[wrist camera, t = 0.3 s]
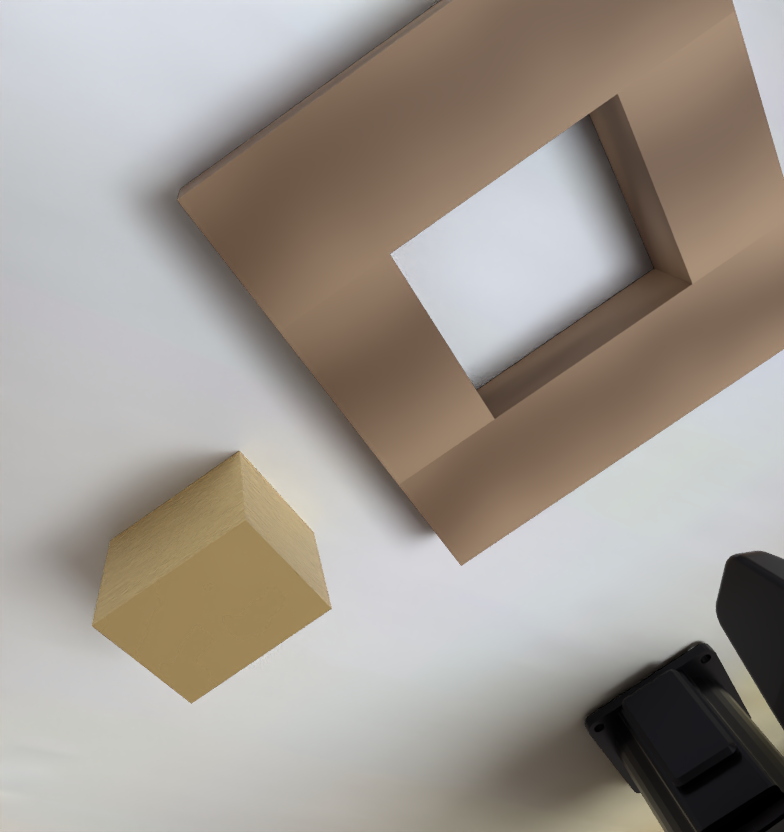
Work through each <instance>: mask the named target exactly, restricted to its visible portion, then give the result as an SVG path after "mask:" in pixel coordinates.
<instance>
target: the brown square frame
mask: <svg viewBox="0 0 784 832" xmlns="http://www.w3.org/2000/svg"><path fill="white" fill-rule="evenodd" d="M588 114H589V115H590V117H591V119H592V122H593V124H594V127H595V129H596V131H597V134H598V136H599V138H600V141H601V143H602V146H603V148H604V150H605V153H606V155H607V157H608V160H609V162H610V165H611V167H612V169H613V172H614V174H615V176H616V179H617V181H618V184H619V186H620V188H621V191H622V193H623V195H624V198H625V200H626V203H627V205H628V207H629V210H630V212H631V214H632V217H633V219H634V222H635V224H636V226H637V229H638V231H639V233H640V236H641V238H642V241H643V243H644V245H645V248H646V250H647V253H648V255H649V257H650V260H651V262H652V264H653V267H654V269H653V270H651V271H650V272H648V273H647V274H645V275H644V276H642V277H641V278H640V279H638V280H637V281H635V282H634V283H632V284H631V285H629V286H628V287H626V288H625V289H624V290H622V291H621V292H619V293H618V294H616V295H615V296H613V297H612V298H610V299H609V300H607V301H606V302H605V303H603V304H602V305H600V306H599V307H597V308H596V309H594V310H593V311H591V312H590V313H589V314H587V315H586V316H584V317H583V318H581V319H580V320H578V321H577V322H575V323H574V324H573V325H571V326H570V327H568V328H567V329H565V330H564V331H562V332H561V333H559V334H558V335H557V336H555V337H554V338H552V339H551V340H549V341H548V342H546V343H545V344H543V345H542V346H541V347H539V348H538V349H536V350H535V351H533V352H532V353H530V354H529V355H527V356H526V357H524V358H523V359H522V360H520V361H519V362H517V363H516V364H514V365H513V366H511V367H510V368H508V369H507V370H506V371H504V372H503V373H501V374H500V375H498V376H497V377H495V378H494V379H492V380H491V381H490V382H488V383H487V384H485V385H484V386H482V387H481V388H479V389H478V390H476V389H475V387H474V386H473V384H472V383H471V381H470V379H469V378H468V376H467V375H466V373H465V372H464V370H463V368H462V367H461V365H460V364H459V362H458V361H457V359H456V357H455V356H454V354H453V353H452V351H451V350H450V348H449V346H448V345H447V343H446V342H445V340H444V339H443V337H442V335H441V334H440V332H439V331H438V329H437V327H436V326H435V324H434V323H433V321H432V320H431V318H430V316H429V315H428V313H427V312H426V310H425V309H424V307H423V305H422V304H421V302H420V301H419V299H418V298H417V296H416V294H415V293H414V291H413V290H412V288H411V287H410V285H409V283H408V282H407V280H406V279H405V277H404V276H403V274H402V272H401V271H400V269H399V268H398V266H397V265H396V263H395V261H394V260H393V258H392V257H391V255H390V254H391V253H392V252H393V251H395V250H396V249H398V248H399V247H401V246H402V245H403V244H405V243H406V242H408V241H409V240H411V239H412V238H413V237H415V236H416V235H418V234H419V233H420V232H422V231H423V230H425V229H426V228H428V227H429V226H430V225H432V224H433V223H435V222H436V221H437V220H439V219H440V218H442V217H443V216H445V215H446V214H447V213H449V212H450V211H452V210H453V209H455V208H456V207H457V206H459V205H460V204H462V203H463V202H464V201H466V200H467V199H469V198H470V197H472V196H473V195H474V194H476V193H477V192H479V191H480V190H481V189H483V188H484V187H486V186H487V185H489V184H490V183H491V182H493V181H494V180H496V179H497V178H499V177H500V176H501V175H503V174H504V173H506V172H507V171H508V170H510V169H511V168H513V167H514V166H516V165H517V164H518V163H520V162H521V161H523V160H524V159H525V158H527V157H528V156H530V155H531V154H533V153H534V152H535V151H537V150H538V149H540V148H541V147H543V146H544V145H545V144H547V143H548V142H550V141H551V140H552V139H554V138H555V137H557V136H558V135H560V134H561V133H562V132H564V131H565V130H567V129H568V128H569V127H571V126H572V125H574V124H575V123H577V122H578V121H579V120H581V119H582V118H584V117H585V116H586V115H588ZM177 201H178V202H179V203H180V205H181V206H182V207H183V208H184V210H185V211H186V212H187V214H188V215H189V216H190V217H191V219H192V220H193V221H194V223H195V224H196V225H197V227H198V228H199V229H200V230H201V232H202V233H203V234H204V236H205V237H206V238H207V239H208V241H209V242H210V243H211V245H212V246H213V247H214V248H215V250H216V251H217V252H218V254H219V255H220V256H221V257H222V259H223V260H224V261H225V263H226V264H227V265H228V266H229V268H230V269H231V270H232V272H233V273H234V274H235V275H236V277H237V278H238V279H239V281H240V282H241V283H242V284H243V286H244V287H245V288H246V290H247V291H248V292H249V293H250V295H251V296H252V297H253V299H254V300H255V301H256V302H257V304H258V305H259V306H260V308H261V309H262V310H263V311H264V313H265V314H266V315H267V317H268V318H269V319H270V320H271V322H272V323H273V324H274V326H275V327H276V328H277V329H278V331H279V332H280V333H281V335H282V336H283V337H284V338H285V340H286V341H287V342H288V344H289V345H290V346H291V347H292V349H293V350H294V351H295V353H296V354H297V355H298V356H299V358H300V359H301V360H302V362H303V363H304V364H305V365H306V367H307V368H308V369H309V371H310V372H311V373H312V374H313V376H314V377H315V378H316V380H317V381H318V382H319V384H320V385H321V386H322V387H323V389H324V390H325V391H326V393H327V394H328V395H329V396H330V398H331V399H332V400H333V402H334V403H335V404H336V405H337V407H338V408H339V409H340V411H341V412H342V413H343V414H344V416H345V417H346V418H347V420H348V421H349V422H350V423H351V425H352V426H353V427H354V429H355V430H356V431H357V432H358V434H359V435H360V436H361V438H362V439H363V440H364V441H365V443H366V444H367V445H368V447H369V448H370V449H371V450H372V452H373V453H374V454H375V456H376V457H377V458H378V459H379V461H380V462H381V463H382V465H383V466H384V467H385V468H386V470H387V471H388V472H389V474H390V475H391V476H392V477H393V479H394V480H395V481H396V483H397V484H398V485H399V486H400V488H401V489H402V490H403V492H404V493H405V494H406V495H407V497H408V498H409V499H410V501H411V502H412V503H413V504H414V506H415V507H416V508H417V510H418V511H419V512H420V513H421V515H422V516H423V517H424V519H425V520H426V521H427V522H428V524H429V525H430V526H431V528H432V529H433V530H434V531H435V533H436V534H437V535H438V537H439V538H440V539H441V541H442V542H443V543H444V544H445V546H446V547H447V548H448V550H449V551H450V552H451V553H452V555H453V556H454V557H455V559H456V560H457V561H458V562H459V564H460V565H461V566H462V565H463V564H465V563H466V562H468V561H469V560H471V559H472V558H474V557H475V556H476V555H478V554H479V553H481V552H482V551H484V550H485V549H487V548H488V547H490V546H491V545H493V544H494V543H496V542H497V541H499V540H500V539H502V538H503V537H505V536H506V535H508V534H509V533H511V532H512V531H514V530H515V529H517V528H518V527H520V526H521V525H523V524H524V523H526V522H527V521H529V520H530V519H532V518H533V517H535V516H536V515H538V514H539V513H541V512H542V511H543V510H545V509H546V508H548V507H549V506H551V505H552V504H554V503H555V502H557V501H558V500H560V499H561V498H563V497H564V496H566V495H567V494H569V493H570V492H572V491H573V490H575V489H576V488H578V487H579V486H581V485H582V484H584V483H585V482H587V481H588V480H590V479H591V478H593V477H594V476H596V475H597V474H599V473H600V472H602V471H603V470H605V469H606V468H608V467H609V466H610V465H612V464H613V463H615V462H616V461H618V460H619V459H621V458H622V457H624V456H625V455H627V454H628V453H630V452H631V451H633V450H634V449H636V448H637V447H639V446H640V445H642V444H643V443H645V442H646V441H648V440H649V439H651V438H652V437H654V436H655V435H657V434H658V433H660V432H661V431H663V430H664V429H666V428H667V427H669V426H670V425H672V424H673V423H674V422H676V421H677V420H679V419H680V418H682V417H683V416H685V415H686V414H688V413H689V412H691V411H692V410H694V409H695V408H697V407H698V406H700V405H701V404H703V403H704V402H706V401H707V400H709V399H710V398H712V397H713V396H715V395H716V394H718V393H719V392H721V391H722V390H724V389H725V388H727V387H728V386H730V385H731V384H733V383H734V382H736V381H737V380H739V379H740V378H741V377H743V376H744V375H746V374H747V373H749V372H750V371H752V370H753V369H755V368H756V367H758V366H759V365H761V364H762V363H764V362H765V361H767V360H768V359H770V358H771V357H773V356H774V355H776V354H777V353H779V352H780V351H782V350H783V349H784V177H783V174H782V170H781V167H780V163H779V160H778V157H777V153H776V150H775V146H774V143H773V139H772V136H771V132H770V129H769V125H768V122H767V119H766V115H765V112H764V108H763V105H762V101H761V98H760V94H759V91H758V88H757V84H756V81H755V77H754V74H753V70H752V67H751V63H750V60H749V56H748V53H747V50H746V46H745V43H744V39H743V36H742V32H741V29H740V25H739V22H738V19H737V15H736V12H735V8H734V5H733V1H732V0H441V1H439V2H438V3H436V4H435V5H434V6H432V7H431V8H430V9H428V10H427V11H425V12H424V13H423V14H421V15H420V16H418V17H417V18H416V19H414V20H413V21H412V22H410V23H409V24H407V25H406V26H405V27H403V28H402V29H401V30H399V31H398V32H396V33H395V34H394V35H392V36H391V37H389V38H388V39H387V40H385V41H384V42H383V43H381V44H380V45H378V46H377V47H376V48H374V49H373V50H372V51H370V52H369V53H367V54H366V55H365V56H363V57H362V58H360V59H359V60H358V61H356V62H355V63H354V64H352V65H351V66H349V67H348V68H347V69H345V70H344V71H343V72H341V73H340V74H338V75H337V76H336V77H334V78H333V79H332V80H330V81H329V82H327V83H326V84H325V85H323V86H322V87H320V88H319V89H318V90H316V91H315V92H314V93H312V94H311V95H309V96H308V97H307V98H305V99H304V100H303V101H301V102H300V103H298V104H297V105H296V106H294V107H293V108H291V109H290V110H289V111H287V112H286V113H285V114H283V115H282V116H280V117H279V118H278V119H276V120H275V121H274V122H272V123H271V124H269V125H268V126H267V127H265V128H264V129H262V130H261V131H260V132H258V133H257V134H256V135H254V136H253V137H251V138H250V139H249V140H247V141H246V142H245V143H243V144H242V145H240V146H239V147H238V148H236V149H235V150H234V151H232V152H231V153H229V154H228V155H227V156H225V157H224V158H222V159H221V160H220V161H218V162H217V163H216V164H214V165H213V166H211V167H210V168H209V169H207V170H206V171H205V172H203V173H202V174H200V175H199V176H198V177H196V178H195V179H193V180H192V181H191V182H189V183H188V184H187V185H185V186H184V187H182V188H181V189H180V191H179V195H178V198H177Z"/></svg>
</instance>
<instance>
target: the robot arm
mask: <svg viewBox="0 0 784 832" xmlns="http://www.w3.org/2000/svg"><path fill="white" fill-rule="evenodd" d="M716 613H717V618H718V620H719V623H720V625H721V627H722V628H723V630H724V632H725V633H726V635H727V637H728V638H729V640H730V642H731V644H732V645H733V647H734V649H735V650H736V652H737V654H738V655H739V657H740V659H741V660H742V662H743V664H744V665H745V667H746V669H747V670H748V672H749V674H750V675H751V677H752V679H753V680H754V682H755V684H756V685H757V687H758V689H759V690H760V692H761V694H762V695H763V697H764V699H765V700H766V702H767V704H768V705H769V707H770V709H771V710H772V712H773V714H774V715H775V717H776V718H777V720H778V722H779V723H780V725H781V726H782V728H783V730H784V559H782V558H780V557H777V556H775V555H772V554H769V553H767V552H764V551H752V552H746V553H739V554H735V555H732V556H730V558H729V559H728V560H727V561H726V564H725V568H724V572H723V576H722V580H721V584H720V589H719V593H718V597H717V601H716ZM585 727H586V729H587V730H588V732H589V734H590V735H591V737H592V738H593V739H594V740H595V742H596V743H597V744H598V745H599V747H600V748H601V749H602V751H603V752H604V753H605V754H606V756H607V757H608V758H609V760H610V761H611V762H612V763H613V765H614V766H615V767H616V769H617V770H618V771H619V772H620V774H621V775H622V776H623V778H624V779H625V780H626V781H627V783H628V784H629V785H630V787H631V788H632V789H633V790H634V792H636V793H641V794H642V796H643V797H644V799H645V800H646V802H647V804H648V805H649V807H650V809H651V810H652V812H653V814H654V815H655V817H656V818H657V820H658V822H659V823H660V825H661V827H662V828H663V830H664V832H784V757H783V756H782V755H781V754H780V752H779V751H778V750H777V749H776V748H775V747H774V745H773V744H772V743H771V742H770V741H769V740H768V738H767V737H766V736H765V735H764V734H763V733H762V731H761V730H760V729H759V728H758V727H757V726H756V724H755V723H754V722H753V721H752V720H751V717H750V715H749V713H748V711H747V709H746V707H745V706H744V704H743V702H742V700H741V698H740V696H739V695H738V693H737V691H736V689H735V687H734V685H733V684H732V682H731V680H730V678H729V676H728V674H727V673H726V671H725V669H724V667H723V665H722V663H721V662H720V660H719V658H718V656H717V654H716V652H715V651H714V650H713V649H712V648H711V647H710V646H709V645H708V644H705V643H704V644H700V645H697V646H696V647H694V648H693V649H691V650H690V651H688V652H686V653H685V654H683V655H682V656H680V657H679V658H677V659H676V660H674V661H673V662H671V663H670V664H668V665H666V666H665V667H663V668H662V669H660V670H659V671H657V672H656V673H654V674H653V675H651V676H650V677H648V678H646V679H645V680H643V681H642V682H640V683H639V684H637V685H636V686H634V687H633V688H631V689H630V690H628V691H626V692H625V693H623V694H622V695H620V696H619V697H617V698H616V699H614V700H613V701H611V702H610V703H608V704H606V705H605V706H603V707H602V708H600V709H599V710H597V711H596V712H594V713H593V714H591V715H590V716H589V717H587V719H586V720H585Z"/></svg>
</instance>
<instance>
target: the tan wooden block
mask: <svg viewBox="0 0 784 832" xmlns="http://www.w3.org/2000/svg"><path fill="white" fill-rule="evenodd" d="M330 609H332V608H331V603H330V599H329V595H328V591H327V587H326V582H325V578H324V574H323V570H322V565H321V561H320V557H319V553H318V549H317V544H316V540H315V536H314V532H313V531H312V530H311V529H310V528H309V527H308V526H307V524H306V523H305V522H304V521H303V520H302V519H301V518H300V517H299V516H298V515H297V513H296V512H295V511H294V510H293V509H292V508H291V507H290V506H289V505H288V504H287V502H286V501H285V500H284V499H283V498H282V497H281V496H280V495H279V494H278V493H277V491H276V490H275V489H274V488H273V487H272V486H271V485H270V484H269V483H268V482H267V480H266V479H265V478H264V477H263V476H262V475H261V474H260V473H259V472H258V471H257V469H256V468H255V467H254V466H253V465H252V464H251V463H250V462H249V461H248V460H247V458H246V457H245V456H244V455H243V454H242V453H241V452H240V451H238V452H237V453H236V454H234V455H233V456H231V457H230V458H228V459H227V460H226V461H224V462H223V463H221V464H220V465H218V466H217V467H215V468H214V469H213V470H211V471H210V472H208V473H207V474H205V475H204V476H203V477H201V478H200V479H198V480H197V481H195V482H194V483H193V484H191V485H190V486H188V487H187V488H185V489H184V490H182V491H181V492H180V493H178V494H177V495H175V496H174V497H172V498H171V499H170V500H168V501H167V502H165V503H164V504H162V505H161V506H159V507H158V508H157V509H155V510H154V511H152V512H151V513H149V514H148V515H147V516H145V517H144V518H142V519H141V520H139V521H138V522H136V523H135V524H134V525H132V526H131V527H129V528H128V529H126V530H125V531H124V532H122V533H121V534H119V535H118V536H116V537H115V538H113V539H112V540H111V541H110V544H109V549H108V553H107V558H106V562H105V567H104V572H103V576H102V581H101V585H100V590H99V595H98V599H97V604H96V609H95V613H94V618H93V622H92V626H93V627H94V628H95V629H97V630H98V631H99V632H100V633H102V634H103V635H104V636H105V637H107V638H108V639H109V640H111V641H112V642H113V643H114V644H116V645H117V646H118V647H120V648H121V649H122V650H123V651H125V652H126V653H127V654H129V655H130V656H131V657H132V658H134V659H135V660H136V661H138V662H139V663H140V664H141V665H143V666H144V667H145V668H147V669H148V670H149V671H150V672H152V673H153V674H154V675H155V676H157V677H158V678H159V679H161V680H162V681H163V682H164V683H166V684H167V685H168V686H170V687H171V688H172V689H173V690H175V691H176V692H177V693H179V694H180V695H181V696H182V697H184V698H185V699H186V700H188V701H189V702H190V703H193V702H194V701H196V700H197V699H199V698H200V697H202V696H203V695H205V694H206V693H208V692H209V691H211V690H212V689H214V688H215V687H217V686H218V685H220V684H221V683H223V682H224V681H225V680H227V679H228V678H230V677H231V676H233V675H234V674H236V673H237V672H239V671H240V670H242V669H243V668H245V667H246V666H248V665H249V664H251V663H252V662H254V661H255V660H256V659H258V658H259V657H261V656H262V655H264V654H265V653H267V652H268V651H270V650H271V649H273V648H274V647H276V646H277V645H279V644H280V643H282V642H283V641H285V640H286V639H288V638H289V637H290V636H292V635H293V634H295V633H296V632H298V631H299V630H301V629H302V628H304V627H305V626H307V625H308V624H310V623H311V622H313V621H314V620H316V619H317V618H319V617H320V616H322V615H323V614H324V613H326V612H327V611H329V610H330Z"/></svg>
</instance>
